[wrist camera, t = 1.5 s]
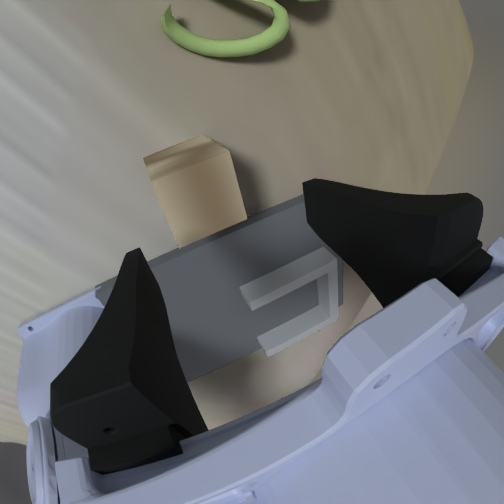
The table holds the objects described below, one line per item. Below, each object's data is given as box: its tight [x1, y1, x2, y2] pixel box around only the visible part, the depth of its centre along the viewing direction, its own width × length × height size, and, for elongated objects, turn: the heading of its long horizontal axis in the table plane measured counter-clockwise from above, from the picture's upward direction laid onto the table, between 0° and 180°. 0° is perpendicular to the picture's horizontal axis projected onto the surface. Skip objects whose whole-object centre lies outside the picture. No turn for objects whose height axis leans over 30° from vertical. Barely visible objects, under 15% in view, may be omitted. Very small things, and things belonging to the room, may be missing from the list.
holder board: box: [95, 194, 343, 382], centre depth 25 cm, size 20×14×3 cm
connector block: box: [143, 135, 247, 249], centre depth 17 cm, size 4×4×5 cm
